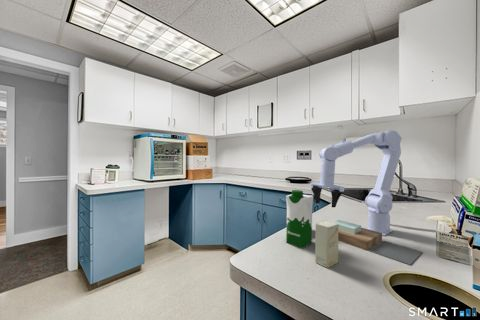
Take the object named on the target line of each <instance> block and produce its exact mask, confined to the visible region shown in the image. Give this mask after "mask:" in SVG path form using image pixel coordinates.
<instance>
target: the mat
mask: <svg viewBox="0 0 480 320" xmlns="http://www.w3.org/2000/svg"><path fill="white" fill-rule="evenodd" d="M369 252H370V253H373V254H376V255H379V256H382V257H384V258H388V259H390V260H394V261H396V262H399V263H403V264H406V265H408V266H411V265H412V264H413V263H414V262H415V261H416V260H417V259H418V258H419V257H420V255H421V254H423V250H417V249H414V248H412V247H407V246H404V245H400V244H397V243H393V242H390V241H387V240H384V241H381V243H378V245H375V246H374V247H372V248H371V249H370V250H369Z"/></svg>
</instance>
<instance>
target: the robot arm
mask: <svg viewBox="0 0 480 320" xmlns="http://www.w3.org/2000/svg"><path fill="white" fill-rule="evenodd" d="M402 139H403V138H402V136H401V135H400V133H398V131H396V130H394V129H391V130H390V129H389V130H387V131H381V132H374V133H370V134H367V135H365V136H362V137H360V138H357V139H354V140H353V141H349V140H340V141H339V142H338V143H336V144H330V145H329V147H325V148H322V149H321V150H320V153H319V157H320V159H321V161H320V175H319V176H320V177H319V182H315V181H312V182H310V187H311V192H312V193H313V198H314V202H315V204H320V202H321V194H322V190H323V189H326V190H331V191H330V193H331V208H336V206H337V204H338V202H339V200H340V198H341V196H342V194H343V192H345V186H340V185H336V184H335V173H336V160H337V159H339V158H341V157H344V156H346V155H348V154H351V153H353V151H354V149H356V148H360V147H363V146H366V145H373V146H375V147H376V148H377V149H379V150H381V152H382V153H383V154H384V155H383V159H382V162H381V165H380V167H379V172H378V174H377V178H376V181H375V186H374V188H372V189H371V190H369V193H368V195H367V196H366V197H365V199H364V203H365V205H366V206H367V211H368V213H367V215H368V216H367V227H366V228H365V227H364V228H365V229H369V230H373V231H376V232H380V233H382V236H387V235H388V234H390V233H392V232H393V229H391V216H390V214H389V213H390V212H391V211H392V209H393V198H394V197H393V195H392V194H391V192H390V190H391V188H392V183H393V181H394V177H395V174H396V171H397V168H398V167H397V166H398V164H399V160H400V158H401V154H402V153H401V152H402V148H401V142H402Z"/></svg>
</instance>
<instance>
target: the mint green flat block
mask: <svg viewBox="0 0 480 320" xmlns="http://www.w3.org/2000/svg"><path fill="white" fill-rule="evenodd" d="M333 222H334V223H338V229H339V230H343V231H346V232H349V233H353V234H355V233H357V232H359V231H361V228H362V225H359V224H356V223H352V222H348V221H344V220H340V219H339V220H336V221H333Z"/></svg>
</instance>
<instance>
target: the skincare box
mask: <svg viewBox="0 0 480 320" xmlns="http://www.w3.org/2000/svg"><path fill="white" fill-rule="evenodd" d="M334 222H335V221H329V220H324V221H319V222H317V223H315V252H314V254H315V259H314V262H315V263H316V264H319V265H321V266H322V267H325V268H331V267H332V266H334V265H336V264H338V263H339V241H338V223H334Z"/></svg>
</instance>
